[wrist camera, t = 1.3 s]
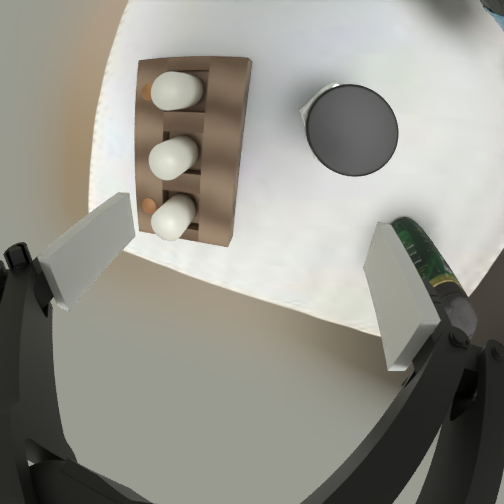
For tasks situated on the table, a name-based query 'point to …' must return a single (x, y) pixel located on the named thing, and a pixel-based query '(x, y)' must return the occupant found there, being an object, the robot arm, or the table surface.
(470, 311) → the coffee jar
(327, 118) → the jar
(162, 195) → the button board
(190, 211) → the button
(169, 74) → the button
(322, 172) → the table surface
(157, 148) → the button middle
